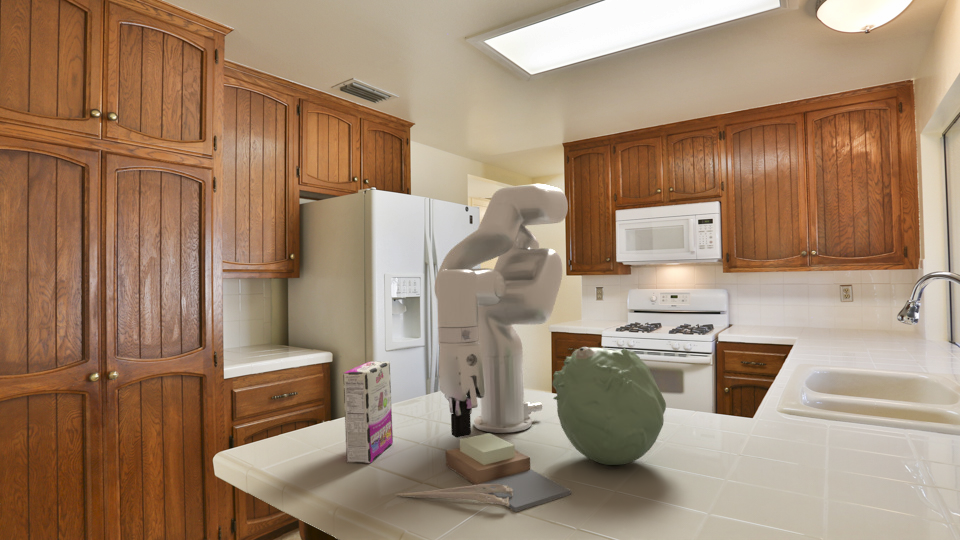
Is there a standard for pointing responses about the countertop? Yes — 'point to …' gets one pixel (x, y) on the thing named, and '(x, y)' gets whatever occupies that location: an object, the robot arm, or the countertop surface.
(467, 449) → the pale green sponge block
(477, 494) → the tweezers
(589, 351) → the cabbage
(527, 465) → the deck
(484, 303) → the robot arm
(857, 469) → the countertop surface
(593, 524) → the countertop surface
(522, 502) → the mat
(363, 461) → the candy bar box
